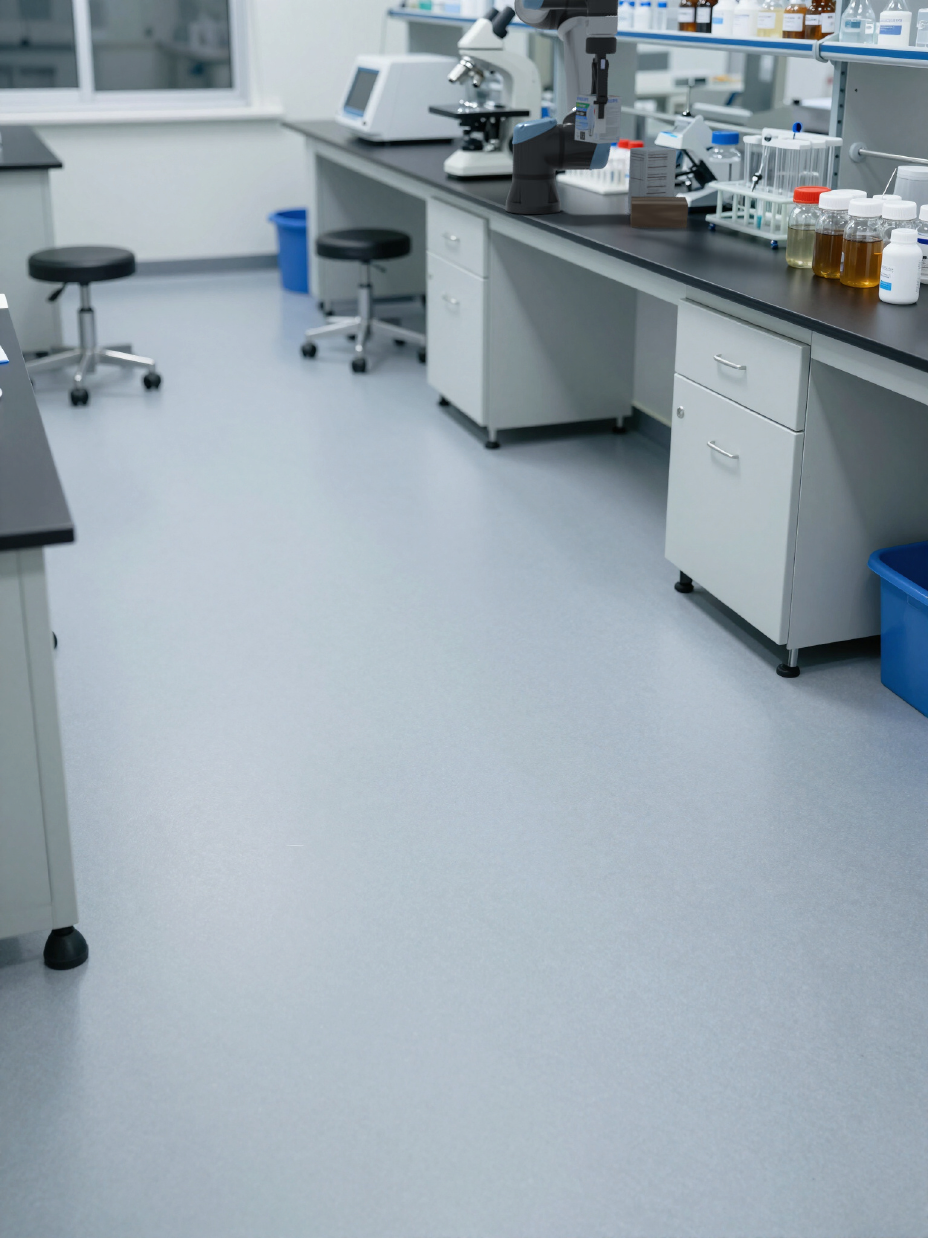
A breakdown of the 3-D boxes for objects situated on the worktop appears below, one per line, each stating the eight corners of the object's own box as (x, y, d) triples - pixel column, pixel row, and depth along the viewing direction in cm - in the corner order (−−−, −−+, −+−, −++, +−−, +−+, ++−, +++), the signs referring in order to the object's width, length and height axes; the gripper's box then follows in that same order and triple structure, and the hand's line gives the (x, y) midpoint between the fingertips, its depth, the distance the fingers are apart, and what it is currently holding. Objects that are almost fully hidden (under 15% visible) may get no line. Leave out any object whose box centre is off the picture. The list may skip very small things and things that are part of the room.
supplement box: (673, 215, 338) (678, 148, 331) (643, 217, 335) (647, 150, 328) (656, 211, 346) (660, 145, 339) (626, 213, 343) (629, 146, 336)
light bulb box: (573, 140, 321) (575, 94, 316) (595, 138, 324) (596, 93, 319) (599, 143, 313) (601, 96, 308) (620, 142, 316) (623, 95, 311)
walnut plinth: (630, 219, 334) (631, 196, 332) (683, 220, 333) (685, 196, 330) (630, 228, 322) (632, 203, 319) (686, 229, 320) (688, 204, 318)
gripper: (582, 34, 319) (579, 126, 328) (590, 36, 297) (586, 134, 306) (611, 34, 319) (608, 126, 328) (622, 36, 297) (617, 134, 306)
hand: (597, 130), depth 317 cm, fingers closed on light bulb box, 12 cm apart
